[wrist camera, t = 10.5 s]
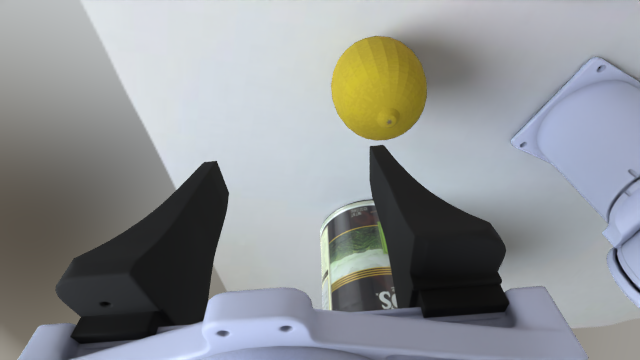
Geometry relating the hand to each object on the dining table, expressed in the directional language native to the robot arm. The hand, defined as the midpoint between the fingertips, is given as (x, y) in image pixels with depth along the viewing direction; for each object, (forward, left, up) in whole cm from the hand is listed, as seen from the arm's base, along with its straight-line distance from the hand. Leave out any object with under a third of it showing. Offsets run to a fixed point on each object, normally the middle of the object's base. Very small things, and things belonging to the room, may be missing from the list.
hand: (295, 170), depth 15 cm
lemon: (-4, -3, -11) cm, 12 cm away
